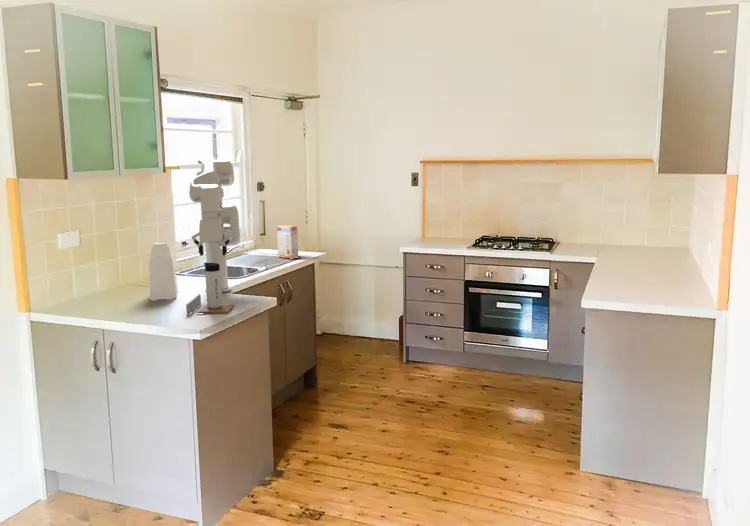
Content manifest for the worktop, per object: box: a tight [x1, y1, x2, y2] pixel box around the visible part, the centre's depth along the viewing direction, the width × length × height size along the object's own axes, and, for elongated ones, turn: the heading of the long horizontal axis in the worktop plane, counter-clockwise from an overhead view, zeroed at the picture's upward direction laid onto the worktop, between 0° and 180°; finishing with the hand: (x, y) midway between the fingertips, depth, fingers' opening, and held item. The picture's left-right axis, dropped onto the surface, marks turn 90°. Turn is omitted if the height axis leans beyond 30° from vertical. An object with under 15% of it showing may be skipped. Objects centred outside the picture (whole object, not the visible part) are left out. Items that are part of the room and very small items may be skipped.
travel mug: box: [203, 262, 223, 310], centre depth 291 cm, size 6×7×20 cm
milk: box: [148, 242, 179, 301], centre depth 319 cm, size 12×12×26 cm
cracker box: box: [276, 224, 299, 259], centre depth 427 cm, size 14×6×21 cm, turn 44°
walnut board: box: [197, 303, 235, 315], centre depth 293 cm, size 13×13×1 cm
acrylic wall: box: [185, 293, 202, 316], centre depth 293 cm, size 20×1×5 cm, turn 0°
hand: (213, 255), depth 289 cm, fingers open, 9 cm apart
